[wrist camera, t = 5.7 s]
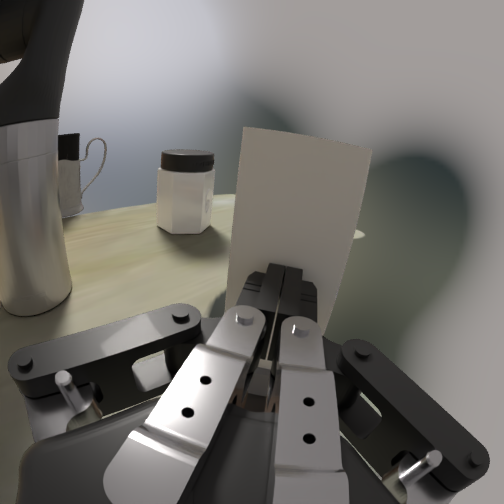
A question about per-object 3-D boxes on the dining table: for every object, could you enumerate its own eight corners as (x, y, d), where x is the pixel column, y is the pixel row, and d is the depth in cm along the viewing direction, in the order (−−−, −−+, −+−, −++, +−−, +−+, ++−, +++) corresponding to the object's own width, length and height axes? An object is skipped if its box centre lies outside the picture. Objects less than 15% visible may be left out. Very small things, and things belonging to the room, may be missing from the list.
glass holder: (42, 209, 46) (39, 137, 39) (100, 197, 55) (101, 130, 49) (47, 221, 40) (42, 138, 34) (113, 206, 50) (114, 131, 44)
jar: (196, 239, 41) (202, 156, 36) (148, 230, 42) (150, 152, 37) (216, 221, 49) (222, 152, 44) (174, 214, 50) (177, 148, 45)
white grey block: (298, 402, 15) (375, 150, 9) (217, 385, 16) (240, 126, 10) (302, 367, 18) (360, 147, 12) (229, 353, 18) (255, 128, 12)
